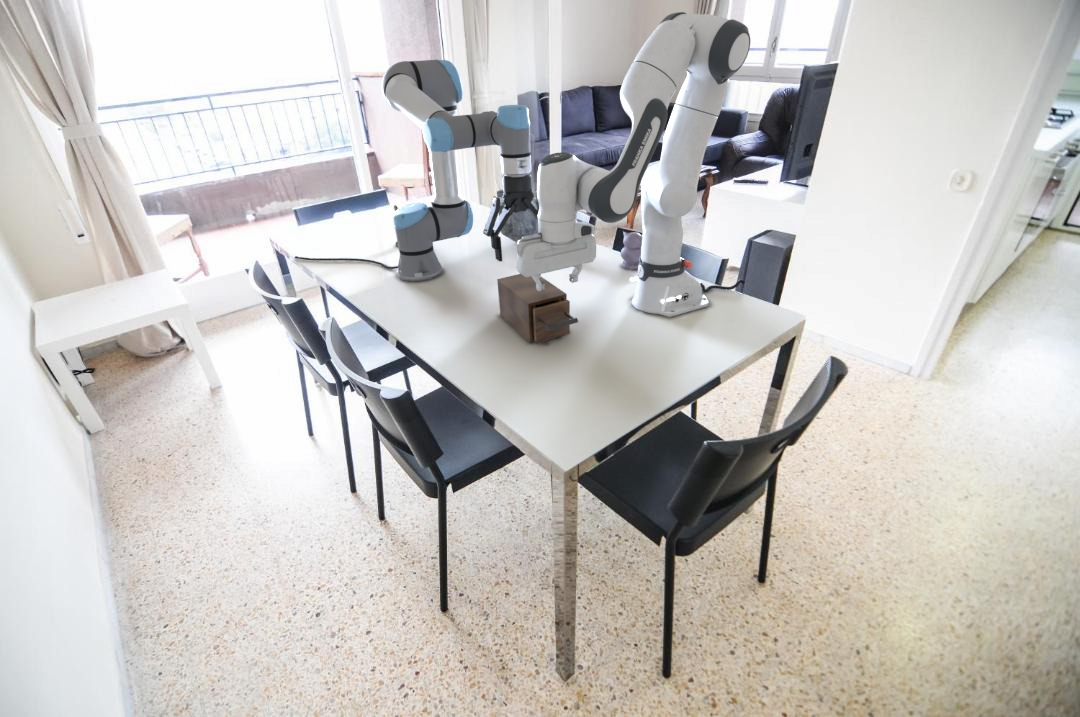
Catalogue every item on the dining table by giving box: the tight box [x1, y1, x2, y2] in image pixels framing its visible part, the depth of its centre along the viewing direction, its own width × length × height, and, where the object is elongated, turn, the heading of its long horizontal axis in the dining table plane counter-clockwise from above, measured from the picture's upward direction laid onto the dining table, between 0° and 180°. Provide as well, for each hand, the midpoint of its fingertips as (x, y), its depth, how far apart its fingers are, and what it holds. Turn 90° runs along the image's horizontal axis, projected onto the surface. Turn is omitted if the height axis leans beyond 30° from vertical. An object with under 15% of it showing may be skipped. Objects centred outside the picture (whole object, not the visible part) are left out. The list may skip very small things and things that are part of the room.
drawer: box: [531, 299, 579, 344], centre depth 133 cm, size 23×10×10 cm, turn 28°
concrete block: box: [496, 188, 539, 243], centre depth 194 cm, size 27×9×20 cm, turn 36°
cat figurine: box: [620, 231, 642, 271], centre depth 172 cm, size 9×8×12 cm
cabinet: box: [497, 273, 568, 344], centre depth 138 cm, size 19×11×12 cm, turn 28°
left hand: (521, 255), depth 136 cm, fingers open, 13 cm apart
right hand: (557, 285), depth 121 cm, fingers open, 8 cm apart
